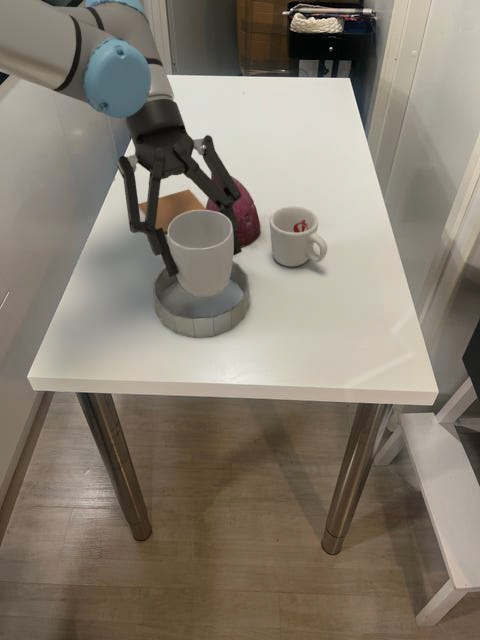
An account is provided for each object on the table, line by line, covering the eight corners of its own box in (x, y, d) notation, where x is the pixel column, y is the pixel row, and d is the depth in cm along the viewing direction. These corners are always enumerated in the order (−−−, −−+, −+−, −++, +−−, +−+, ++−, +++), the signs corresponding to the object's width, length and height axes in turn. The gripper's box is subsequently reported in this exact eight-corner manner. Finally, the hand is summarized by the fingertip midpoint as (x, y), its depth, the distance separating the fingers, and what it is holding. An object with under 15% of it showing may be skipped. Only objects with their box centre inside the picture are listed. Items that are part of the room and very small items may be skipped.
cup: (336, 263, 86) (342, 225, 80) (307, 286, 82) (312, 248, 76) (287, 237, 91) (290, 200, 85) (259, 258, 87) (259, 220, 81)
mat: (159, 235, 92) (158, 233, 92) (138, 206, 99) (138, 203, 98) (212, 218, 95) (212, 216, 95) (189, 191, 102) (188, 189, 102)
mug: (238, 301, 71) (236, 246, 64) (175, 307, 71) (166, 252, 63) (229, 246, 80) (227, 192, 72) (173, 250, 79) (165, 196, 72)
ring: (178, 350, 73) (175, 332, 70) (142, 290, 82) (138, 272, 79) (265, 315, 77) (266, 297, 75) (222, 262, 86) (221, 244, 84)
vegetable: (204, 258, 92) (174, 195, 81) (215, 220, 98) (188, 156, 87) (258, 253, 89) (234, 187, 78) (266, 214, 95) (245, 147, 84)
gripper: (213, 105, 75) (262, 246, 77) (71, 137, 68) (129, 291, 70) (228, 81, 68) (282, 236, 70) (72, 114, 61) (136, 286, 63)
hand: (205, 264), depth 70 cm, fingers closed on mug, 9 cm apart
